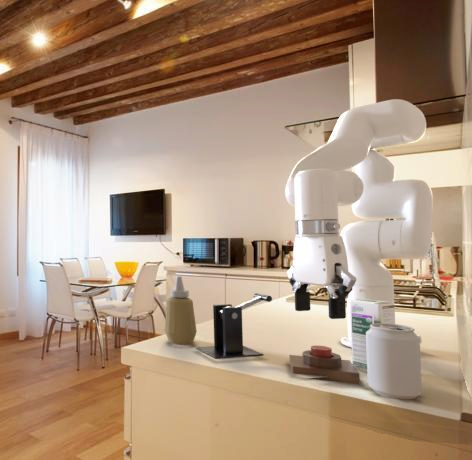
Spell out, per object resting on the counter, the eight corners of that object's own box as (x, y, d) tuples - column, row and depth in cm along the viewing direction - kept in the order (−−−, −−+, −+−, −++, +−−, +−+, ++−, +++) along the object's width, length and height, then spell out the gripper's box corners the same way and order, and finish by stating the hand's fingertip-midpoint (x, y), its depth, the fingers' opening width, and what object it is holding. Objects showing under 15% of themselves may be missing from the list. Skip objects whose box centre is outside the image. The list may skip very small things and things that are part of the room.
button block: (350, 370, 86) (349, 351, 86) (360, 385, 78) (359, 363, 78) (289, 364, 91) (288, 346, 91) (292, 377, 83) (292, 357, 83)
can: (433, 402, 69) (430, 330, 69) (382, 400, 71) (379, 329, 71) (404, 386, 76) (402, 321, 77) (359, 384, 78) (356, 321, 78)
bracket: (240, 349, 104) (238, 302, 104) (263, 359, 95) (262, 308, 95) (195, 352, 102) (194, 304, 102) (215, 362, 93) (214, 310, 93)
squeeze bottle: (159, 345, 109) (158, 277, 109) (172, 339, 115) (171, 274, 115) (189, 350, 104) (187, 278, 104) (201, 343, 110) (199, 276, 110)
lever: (260, 299, 103) (256, 290, 103) (273, 302, 98) (270, 293, 98) (218, 318, 101) (214, 309, 101) (230, 322, 96) (226, 313, 96)
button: (330, 354, 85) (330, 346, 85) (333, 359, 82) (333, 350, 82) (310, 353, 87) (309, 344, 87) (312, 357, 84) (311, 348, 84)
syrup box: (350, 368, 88) (348, 299, 88) (367, 364, 90) (365, 297, 90) (380, 376, 82) (378, 303, 83) (398, 372, 85) (395, 301, 85)
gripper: (370, 228, 77) (374, 321, 77) (301, 230, 94) (303, 306, 94) (335, 228, 76) (338, 323, 75) (271, 230, 93) (273, 308, 93)
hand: (319, 314), depth 85 cm, fingers open, 8 cm apart
